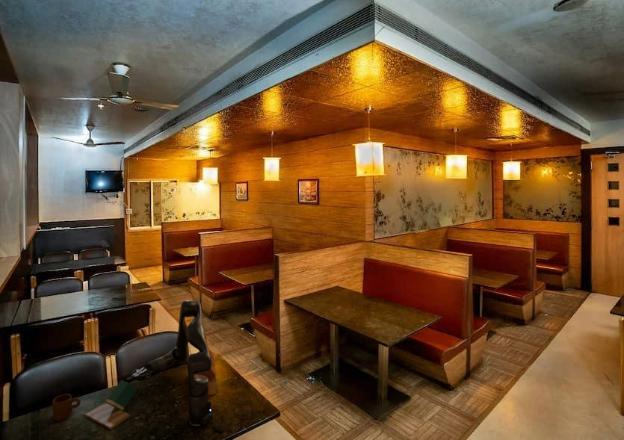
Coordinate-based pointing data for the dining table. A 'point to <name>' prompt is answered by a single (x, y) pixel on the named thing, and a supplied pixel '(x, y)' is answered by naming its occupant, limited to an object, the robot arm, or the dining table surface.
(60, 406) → the mug
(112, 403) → the carton
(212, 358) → the bread
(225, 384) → the dining table surface
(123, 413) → the cork mat
